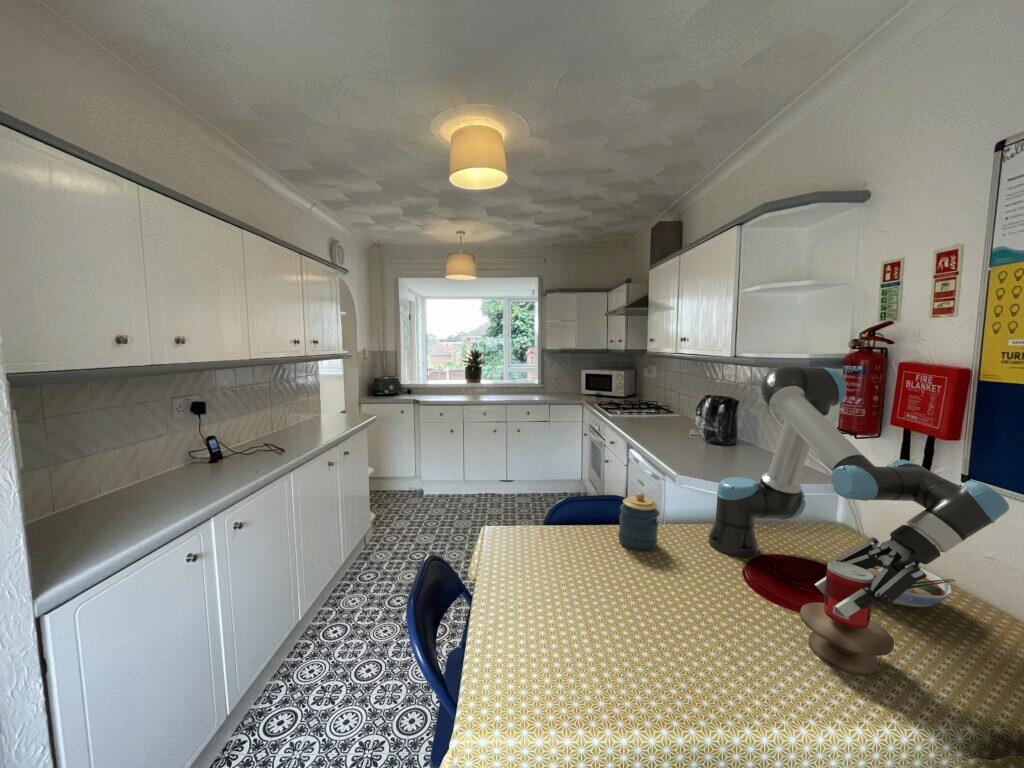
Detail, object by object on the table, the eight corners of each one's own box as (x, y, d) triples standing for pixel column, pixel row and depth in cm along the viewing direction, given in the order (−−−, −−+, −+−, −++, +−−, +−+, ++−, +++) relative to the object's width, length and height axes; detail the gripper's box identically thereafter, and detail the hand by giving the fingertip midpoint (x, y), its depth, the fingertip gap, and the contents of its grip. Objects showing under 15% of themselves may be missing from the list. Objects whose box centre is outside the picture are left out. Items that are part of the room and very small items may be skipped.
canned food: (877, 632, 86) (883, 582, 86) (834, 626, 88) (839, 576, 87) (855, 610, 94) (860, 563, 93) (816, 604, 95) (820, 559, 95)
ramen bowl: (880, 572, 129) (883, 547, 128) (976, 619, 106) (980, 588, 106) (814, 578, 123) (817, 552, 123) (901, 629, 101) (905, 597, 100)
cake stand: (795, 657, 90) (798, 627, 90) (800, 621, 103) (802, 594, 102) (894, 697, 80) (898, 663, 80) (886, 651, 93) (889, 622, 92)
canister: (625, 531, 152) (628, 484, 150) (662, 542, 144) (665, 492, 143) (612, 544, 141) (615, 493, 140) (650, 556, 133) (653, 503, 132)
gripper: (981, 578, 77) (873, 645, 81) (900, 531, 97) (817, 587, 101) (951, 547, 77) (845, 615, 82) (877, 507, 97) (795, 564, 102)
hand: (829, 600), depth 91 cm, fingers closed on canned food, 8 cm apart
